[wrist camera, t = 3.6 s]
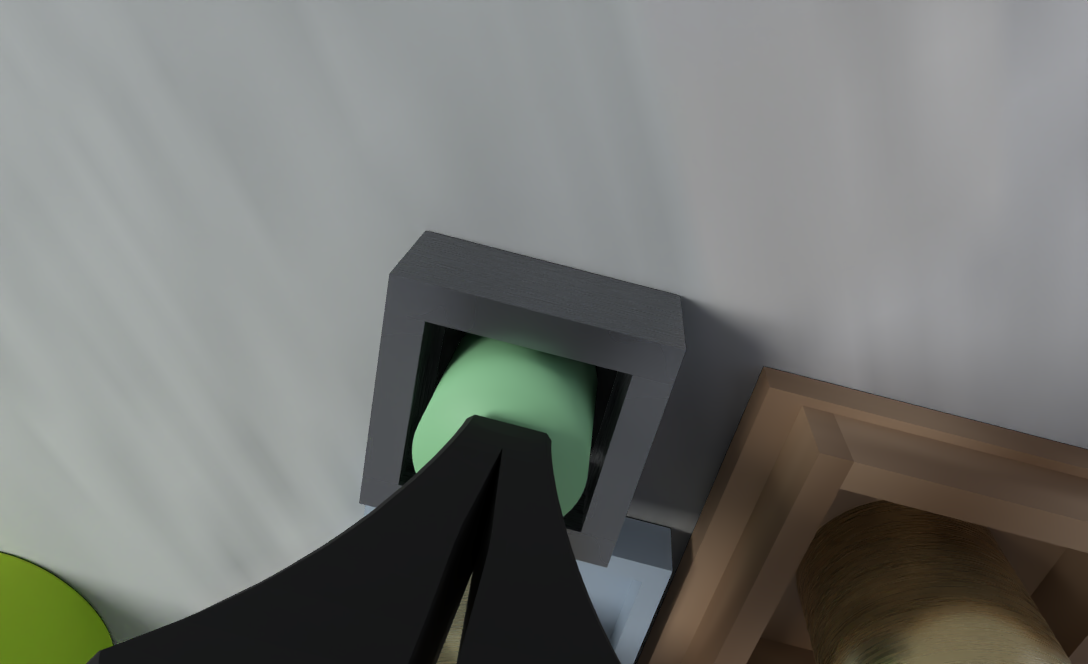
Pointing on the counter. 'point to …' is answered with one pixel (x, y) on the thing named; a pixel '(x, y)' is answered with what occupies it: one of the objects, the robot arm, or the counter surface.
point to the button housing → (537, 323)
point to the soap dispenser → (45, 618)
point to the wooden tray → (847, 482)
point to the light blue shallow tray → (628, 584)
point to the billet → (917, 593)
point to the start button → (516, 404)
